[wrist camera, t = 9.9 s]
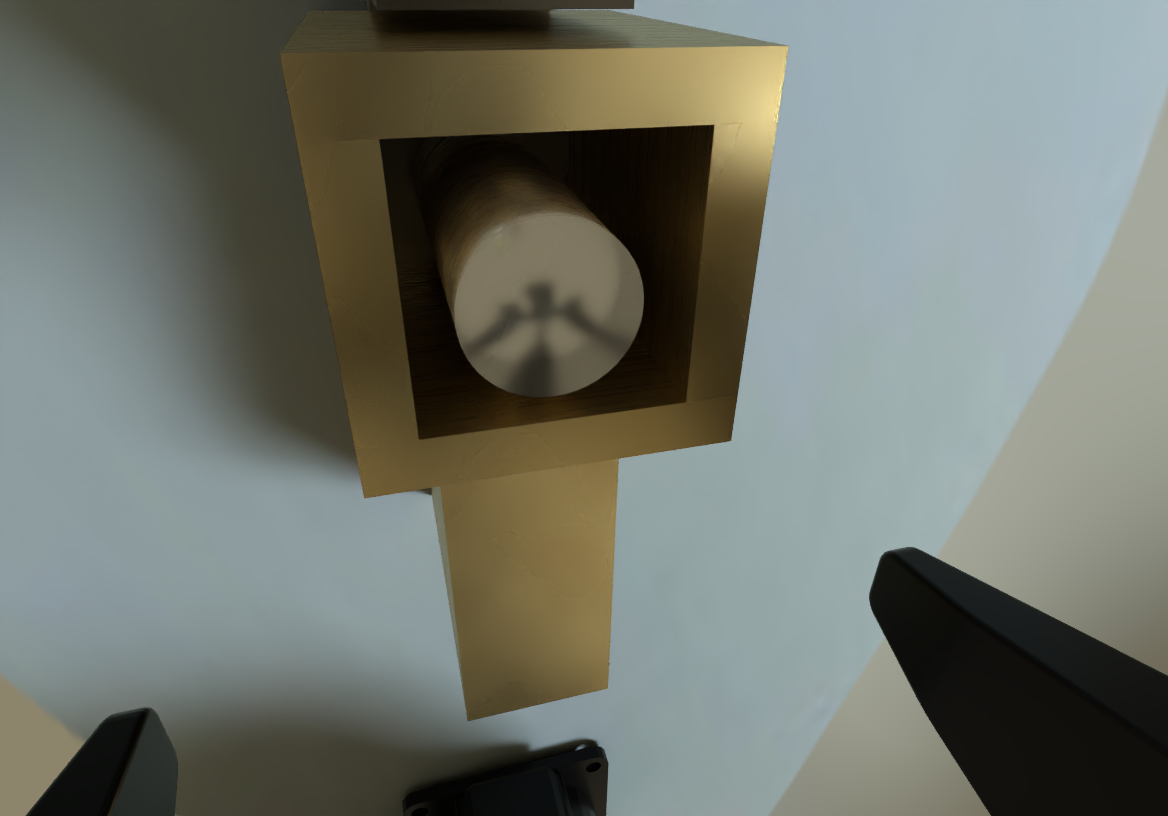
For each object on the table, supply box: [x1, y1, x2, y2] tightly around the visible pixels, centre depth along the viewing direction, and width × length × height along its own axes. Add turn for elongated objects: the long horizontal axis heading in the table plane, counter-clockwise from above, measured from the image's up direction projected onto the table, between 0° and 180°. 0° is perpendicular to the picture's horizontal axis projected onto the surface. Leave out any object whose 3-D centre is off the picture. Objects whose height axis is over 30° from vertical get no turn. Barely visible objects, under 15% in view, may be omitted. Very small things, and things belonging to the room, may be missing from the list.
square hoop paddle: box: [280, 10, 788, 721], centre depth 11 cm, size 10×4×8 cm, turn 179°
